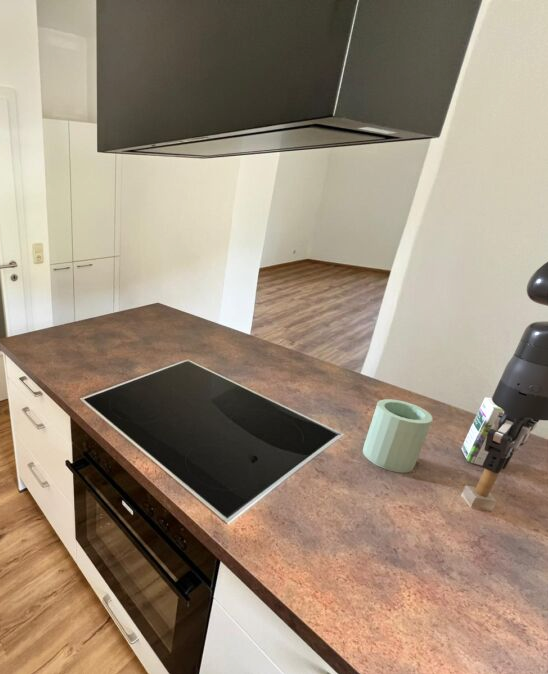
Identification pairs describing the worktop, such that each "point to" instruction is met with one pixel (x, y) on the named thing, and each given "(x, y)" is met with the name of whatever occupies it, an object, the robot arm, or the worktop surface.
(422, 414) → the mint green cup
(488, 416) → the syrup box
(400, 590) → the worktop surface
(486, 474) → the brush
